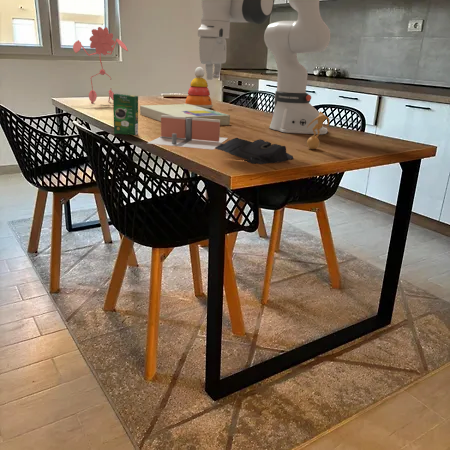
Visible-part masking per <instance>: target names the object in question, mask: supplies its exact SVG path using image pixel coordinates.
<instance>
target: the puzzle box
mask: <svg viewBox="0 0 450 450" xmlns="http://www.w3.org/2000/svg"><path fill="white" fill-rule="evenodd" d="M139 113H140V115H141V116H144V117H147V118H150V119H152V120H155V121H158V122H161V115H167V116H179V117H186V118H192V119H193V118H203V119H215V120H220V126H230V124H231V115H230V114H226V113H223V112H220V111H216V110H212V109H210V108H208V109H205V108H202V107H198V106H194V105H190V104H184V103H175V104H150V105H149V104H147V105H146V104H144V105H139Z"/></svg>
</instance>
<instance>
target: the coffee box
mask: <svg viewBox="0 0 450 450" xmlns="http://www.w3.org/2000/svg"><path fill="white" fill-rule="evenodd" d="M112 101H113V102H112V103H113V104H112V105H113V106H112V107H113V134H114V135H116V134H118V135H119V134H120V135H128V136H130V135H131V136H137V135H138V134H139V95H131V94H121V93H114V94H113V100H112Z"/></svg>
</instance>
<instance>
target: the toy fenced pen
mask: <svg viewBox="0 0 450 450" xmlns="http://www.w3.org/2000/svg"><path fill="white" fill-rule="evenodd" d="M227 139H228V137H221V136H220V137H219V142H217V141H206V140H195V139H192V140H186V138H185V139H184V138H177V134H172V137H162V136H161V135H160V136H159V137H157V138H155V139H153V140H150V141H149V142H147V144H149V145H161V146H168V147H169V146H170V147H171V146H172V147H182V148H189V149H190V148H191V149H200V150H201V149H204V150H212V151H213V150H216V149H215V148H216V147H217V146H219V145H221V144H223V143H225V141H226V140H227ZM228 140H229V139H228Z"/></svg>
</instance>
